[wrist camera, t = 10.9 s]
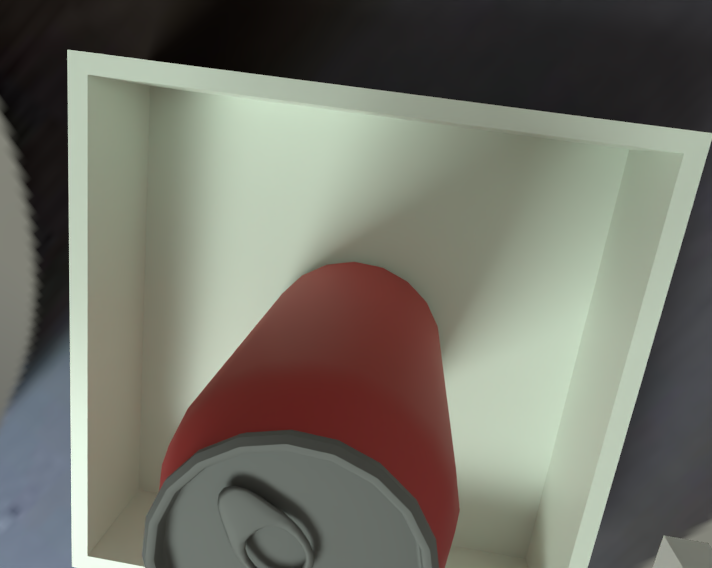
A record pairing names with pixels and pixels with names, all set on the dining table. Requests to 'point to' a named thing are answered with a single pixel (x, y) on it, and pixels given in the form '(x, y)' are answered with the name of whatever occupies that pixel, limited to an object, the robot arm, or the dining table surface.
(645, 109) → the dining table surface
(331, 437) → the beer can
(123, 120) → the bin
